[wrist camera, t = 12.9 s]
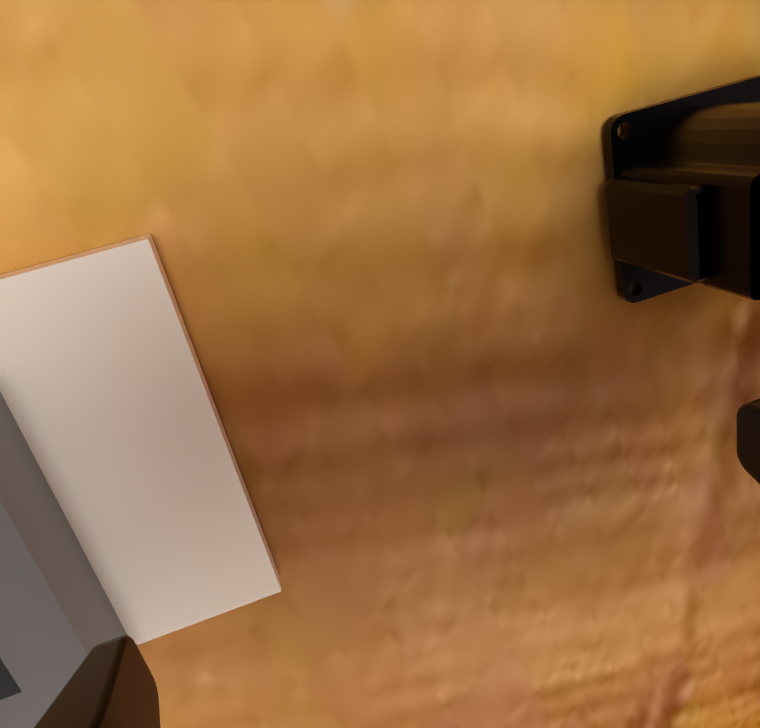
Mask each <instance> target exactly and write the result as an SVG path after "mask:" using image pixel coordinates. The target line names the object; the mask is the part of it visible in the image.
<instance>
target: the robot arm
mask: <svg viewBox="0 0 760 728" xmlns="http://www.w3.org/2000/svg"><path fill="white" fill-rule="evenodd" d="M620 124H622V125H623V127H624V131H623V134H622V136H621V137H619V136H618V133H617V130H618V127H619V125H620ZM604 145H605V156H606V168H607V179H608V184H607V187H606V197H607V208H608V219H609V231H610V242H611V253H612V256H613V257H614V259H615V271H616V282H617V292H618V295H619V296H620V297H621V299H624V300H626V301H629V302H632V303H635V302H639V301H642V300H645V299H648V298H651V297H654V296H658V295H661V294H664V293H667V292H670V291H673V290H676V289H679V288H682V287H685V286H688V285H691V284H694V283H700V284H703V285H706V286H709V287H713V288H716V289H719V290H723V291H726V292H729V293H733V294H736V295H739V296H742V297H746V298H749V299H752V300H760V75H757V76H754V77H750V78H747V79H743V80H739V81H736V82H732V83H728V84H725V85H721V86H718V87H714V88H710V89H707V90H703V91H700V92H696V93H692V94H689V95H685V96H682V97H678V98H674V99H671V100H667V101H663V102H660V103H656V104H653V105H649V106H645V107H642V108H638V109H635V110H631V111H627V112H624V113H620V114H617V115H614V116H612V117H611V118H610V119H609V120H608V121H607V122H606V125H605V127H604ZM634 283H635V284H636V285H635V289H634V291H633V292H631V293H630V287H631V286H632V284H634ZM736 418H737V455H738V459H739V461H740V463H741V465H742V466H743V468H744V469H745V470H746V471H747V472H748V473H749V474H750V475H751V476H752V477H753V478H754V479H755V480H756V481H757V482H758V483H759V484H760V399H757V400H754V401H752V402H749V403H746V404H744V405H742V406H741V407H740V408H739V409H738V412H737V417H736ZM34 728H160V714H159V699H158V691H157V687H156V683H155V680H154V678H153V676H152V674H151V672H150V670H149V668H148V666H147V664H146V662H145V660H144V659H143V657H142V655H141V653H140V651H139V649H138V647H137V645H136V643H135V642H134V640H133V639H132V638H131V637H130V636H128V635H121V636H118V637H116V638H113V639H110V640H107V641H105V642H102V643H100V644H97V645H96V646H94V647H93V649H92V650H91V651H90V652H89V654H88V655H87V656H86V658H85V659H84V660H83V662H82V663H81V664H80V666H79V667H78V668H77V670H76V671H75V673H74V674H73V675H72V677H71V678H70V679H69V681H68V682H67V683H66V685H65V686H64V687H63V689H62V690H61V692H60V693H59V694H58V696H57V697H56V698H55V700H54V701H53V702H52V704H51V705H50V706H49V708H48V709H47V710H46V712H45V713H44V715H43V716H42V717H41V719H40V720H39V721H38V723H37V724H36V725H35V727H34Z"/></svg>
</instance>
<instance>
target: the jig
mask: <svg viewBox="0 0 760 728" xmlns="http://www.w3.org/2000/svg"><path fill="white" fill-rule="evenodd" d="M278 592H281V585H280V579H279V574H278V571H277V568H276V566H275V563H274V560H273V558H272V555H271V552H270V550H269V547H268V544H267V542H266V539H265V536H264V534H263V531H262V528H261V526H260V523H259V520H258V518H257V515H256V512H255V510H254V507H253V505H252V502H251V499H250V497H249V494H248V491H247V489H246V486H245V483H244V481H243V478H242V475H241V473H240V470H239V467H238V465H237V462H236V459H235V457H234V454H233V451H232V449H231V446H230V443H229V441H228V438H227V435H226V433H225V430H224V427H223V425H222V422H221V419H220V417H219V414H218V411H217V409H216V406H215V404H214V401H213V398H212V396H211V393H210V390H209V388H208V385H207V382H206V380H205V377H204V374H203V372H202V369H201V366H200V364H199V361H198V358H197V356H196V353H195V350H194V348H193V345H192V342H191V340H190V337H189V334H188V332H187V329H186V326H185V324H184V321H183V318H182V316H181V313H180V311H179V308H178V305H177V303H176V300H175V297H174V295H173V292H172V289H171V287H170V284H169V281H168V279H167V276H166V273H165V271H164V268H163V265H162V263H161V260H160V257H159V255H158V252H157V249H156V247H155V244H154V241H153V239H152V236H151V234H147V235H143V236H140V237H136V238H132V239H129V240H125V241H122V242H118V243H114V244H111V245H107V246H103V247H100V248H96V249H92V250H89V251H85V252H81V253H78V254H74V255H71V256H67V257H63V258H60V259H56V260H52V261H49V262H45V263H41V264H38V265H34V266H30V267H27V268H23V269H20V270H16V271H12V272H9V273H5V274H1V275H0V728H34V727H35V725H36V724H37V723H38V721H39V720H40V719H41V717H42V716H43V715H44V713H45V712H46V710H47V709H48V708H49V706H50V705H51V704H52V702H53V701H54V700H55V698H56V697H57V696H58V694H59V693H60V692H61V690H62V689H63V687H64V686H65V685H66V683H67V682H68V681H69V679H70V678H71V677H72V675H73V674H74V673H75V671H76V670H77V668H78V667H79V666H80V664H81V663H82V662H83V660H84V659H85V658H86V656H87V655H88V654H89V652H90V651H91V650H92V649H93V647H94V646H96V645H97V644H100V643H102V642H105V641H107V640H110V639H113V638H116V637H118V636H121V635H128V636H130V637H131V638H132V639H133V640H134V642H135V643H136V645H139V644H142V643H144V642H147V641H150V640H152V639H155V638H158V637H160V636H163V635H166V634H169V633H171V632H174V631H177V630H179V629H182V628H185V627H187V626H190V625H193V624H195V623H198V622H201V621H203V620H206V619H209V618H211V617H214V616H217V615H219V614H222V613H225V612H228V611H230V610H233V609H236V608H238V607H241V606H244V605H246V604H249V603H252V602H254V601H257V600H260V599H262V598H265V597H268V596H270V595H273V594H276V593H278Z"/></svg>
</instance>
